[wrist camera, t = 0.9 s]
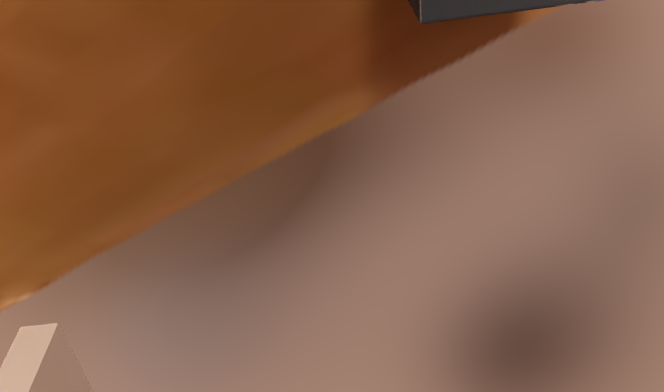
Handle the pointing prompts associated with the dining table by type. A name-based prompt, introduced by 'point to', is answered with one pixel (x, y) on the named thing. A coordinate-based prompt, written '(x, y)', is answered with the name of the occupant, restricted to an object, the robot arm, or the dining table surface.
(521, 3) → the box
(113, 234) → the dining table surface
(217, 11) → the dining table surface
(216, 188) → the dining table surface
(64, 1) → the dining table surface
